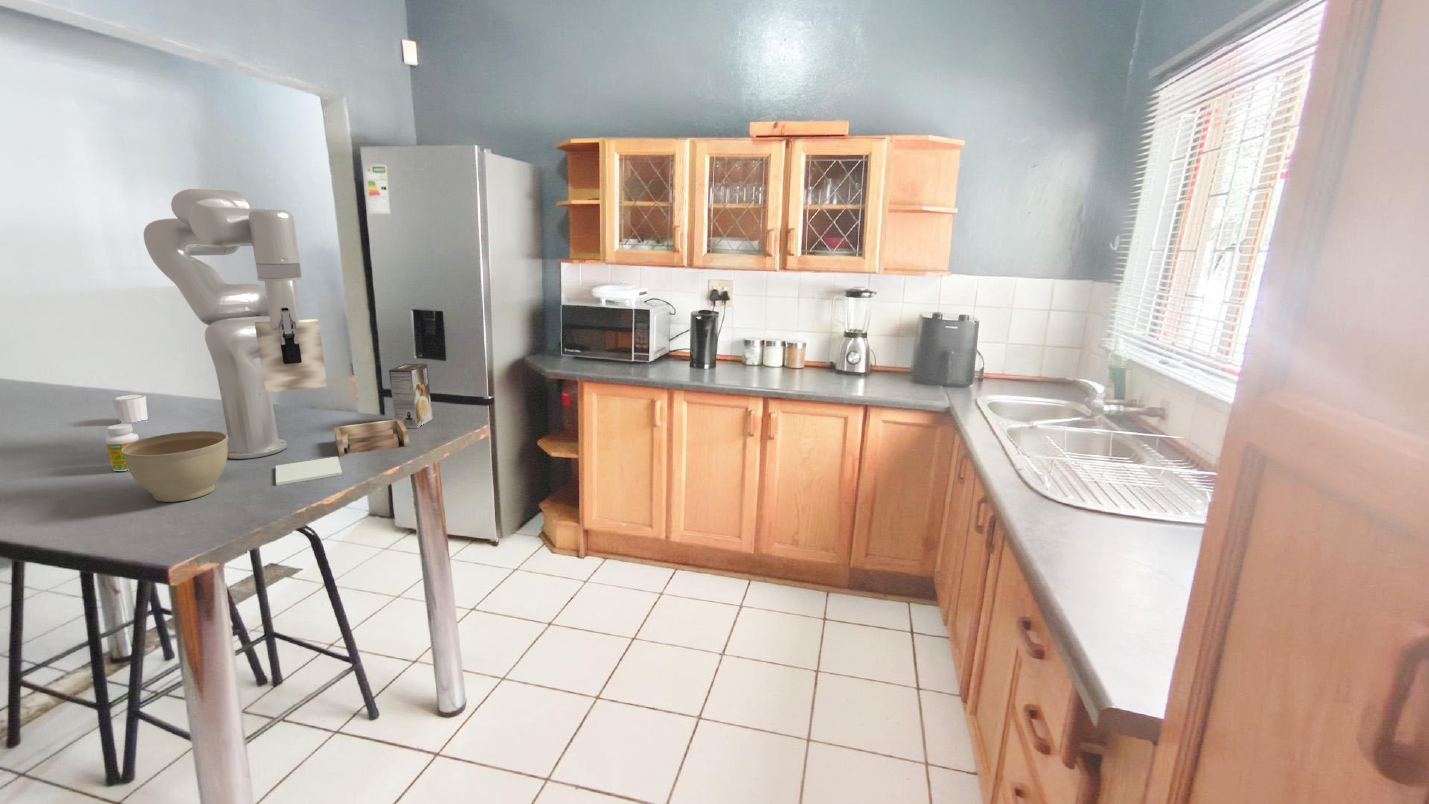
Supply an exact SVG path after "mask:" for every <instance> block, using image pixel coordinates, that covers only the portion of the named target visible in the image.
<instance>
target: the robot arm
mask: <svg viewBox="0 0 1429 804" xmlns="http://www.w3.org/2000/svg"><path fill="white" fill-rule="evenodd" d="M170 204H171V205H170V207H171V210H172V213H173V214H174V215H175V217H176V218H175V217H174V218H162V219H157V220H154V221H152V222H150V223H148V224H147V225H146V226H145V228H144V229H143V241H144V244H145V247H146V250H147V253H148V255H149V257H150V258H151V260H152V261H153V263H154V264H155V266H156V267H157V268H158V269H159V271H161V272H162V273H163V274H164V275H165V276H166V277H167V278H168V279H169V280H170V281H172V282H173V284H174V285H175V286H176V287H177V289H179V291H180V293H181V294H182V296H183V297H184V299H185V301H186V302H187V304H188V305H189V307H190V308H191V310H192V311H193V313H194V314H195V316H196V317H197V318H198V320H199V321H201V323H203V324H204V325H207V327H206V329H205V331H204V341H205V344H206V347H207V349H208V351H209V355H210V357H211V360H212V363H213V366H214V370H215V372H216V378H217V382H218V387H219V394H220V398H221V404H222V405H221V406H222V409H223V416H224V420H225V427H226V431H227V432H226V435H227V436H228V442H227V447H228V455H227V459H230V460H231V459H232V460H244V459H245V460H247V459H254V458H262V457H266V456H271V455H274V454H278V453H279V452H282V451H284V450H286V448H287V447H288V444H287V441H286V440H284V439H281V438H279V437H278V430H277V424H276V418H275V417H276V416H275V411H274V405H273V398H272V392H266V391H265V385H264V379H263V373H262V367H260V366H259V365H257V364H256V362H254V360H255V359H260V354H259V348H258V342H257V335H256V329H255V322H268V321H270V324H271V329H272V330H275V328H278V327H280V334H281V340H282V345H281V350H282V356H283V363H284V364H294V363H301V362H302V360H301V353H300V346H299V344H298V342H297V335H296V329H298V328H299V320H300V309H299V298H298V291H297V290H298V289H297V283H296V281H300V280H301V281H302V280H303V277H302V269H301V264H300V262H301V261H300V254H299V247H298V241H297V234H296V226H295V221H294V216H293V215H292V213H291V212H289V211H287V210H285V209H272V208H271V209H269V208H268V209H266V208H253V207H252V204H251V203H250V201H249V200H248V199H247V197H246V196H244V195H243V194H241V193H240V192H238V191H234V190H233V191H232V190H221V189H205V188H187V189H183V190H180V191H179V192H177V193H176V194H175V195H174V196H173V197H172V199H171V202H170ZM240 247H252V249H253V256H254V262H255V266H256V267H255V269H256V274H257V280H258V282H259V281H260V282H264V285H260V284H259V283H233V284H232V283H227V282H225V281H224V280H223V278H222V277H221V275H220V274H219V272H217V270H215V269H214V268H213V267H212V266H210V265H209V264H207V263H205V262H204V261H202V260H200V259H198V258H196V257H194V256H228V255H232V254H235V253H236V252H237V251H238V249H239V248H240ZM292 322H293V323H292ZM295 324H296V325H295ZM281 325H282V326H284V329H282V326H281ZM291 326H293V328H294V329H291ZM295 327H296V328H295ZM283 332H285V333H284V334H283ZM284 339H285V340H284ZM294 342H295V343H294Z"/></svg>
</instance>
